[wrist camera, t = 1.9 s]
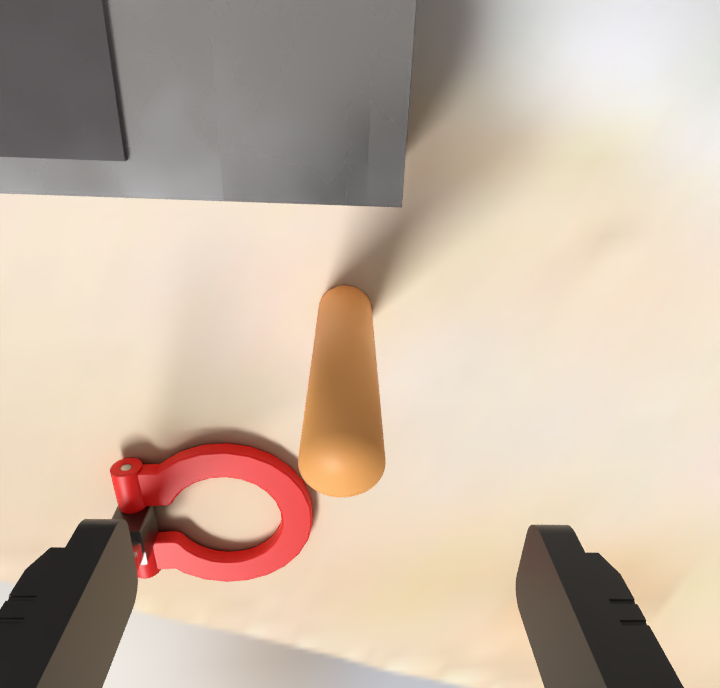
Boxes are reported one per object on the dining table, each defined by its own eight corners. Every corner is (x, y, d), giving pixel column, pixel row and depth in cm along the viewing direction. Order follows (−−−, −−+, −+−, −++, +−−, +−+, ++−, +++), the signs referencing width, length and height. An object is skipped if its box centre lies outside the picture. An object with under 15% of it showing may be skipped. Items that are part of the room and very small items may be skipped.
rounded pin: (373, 286, 22) (387, 428, 13) (370, 334, 23) (382, 497, 14) (318, 284, 22) (297, 426, 13) (318, 333, 23) (298, 496, 14)
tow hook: (310, 434, 26) (110, 440, 26) (302, 721, 15) (-61, 743, 14) (314, 561, 30) (140, 568, 29) (310, 868, 18) (24, 891, 18)
